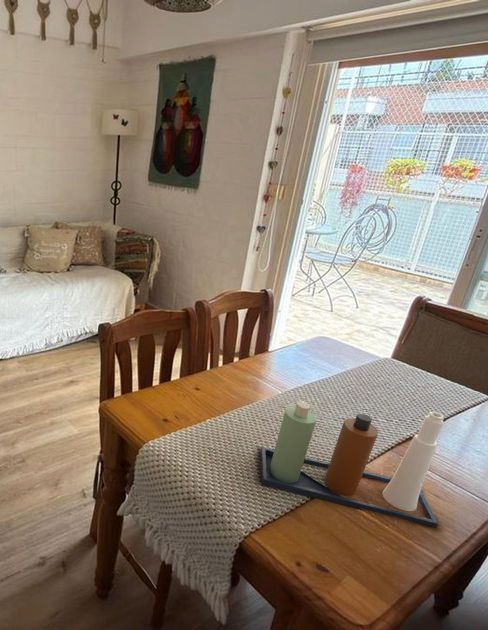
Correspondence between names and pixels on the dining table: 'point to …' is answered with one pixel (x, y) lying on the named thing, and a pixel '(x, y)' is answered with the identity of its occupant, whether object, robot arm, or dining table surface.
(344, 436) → the amber bottle
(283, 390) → the dining table surface
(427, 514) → the tray
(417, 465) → the cosmetic bottle
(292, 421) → the sage bottle
